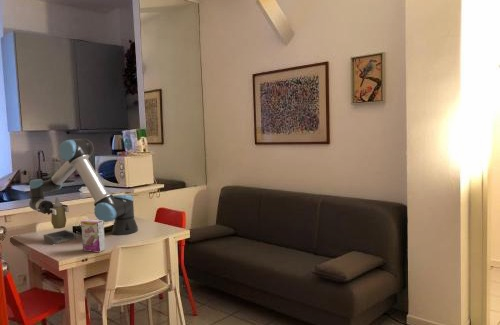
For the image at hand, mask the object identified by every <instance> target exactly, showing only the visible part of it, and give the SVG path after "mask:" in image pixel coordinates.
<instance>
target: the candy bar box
mask: <svg viewBox="0 0 500 325" xmlns="http://www.w3.org/2000/svg"><path fill="white" fill-rule="evenodd" d="M104 223H105V222H103V220H99V219H84V220H81V221H80V226H81V228H80V229H81V238H82V239H81V240H82V241H81V242H82V251H83V250H91V251H102V250H104V251H105V249H106V240H105V239H106V237H105V225H104ZM102 252H103V251H102Z"/></svg>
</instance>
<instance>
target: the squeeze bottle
mask: <svg viewBox="0 0 500 325" xmlns="http://www.w3.org/2000/svg"><path fill="white" fill-rule="evenodd" d="M62 204H63V202H60V199H59V197H58V196H56V197H55V201H54V203H53V208H52V209H55V210H56V214H57V215H54V214H51V220H50V221H51V225H52V227H53V229H56V230H57V229H58V230H59V229H63V228H65V227H66V224H67V216H66V212H65V210H64V207H63V206H62Z"/></svg>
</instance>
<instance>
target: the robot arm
mask: <svg viewBox="0 0 500 325" xmlns="http://www.w3.org/2000/svg"><path fill="white" fill-rule="evenodd" d="M94 152H95V146H94V144H93V142H92V141H90V140H89V139H87V138H76V139H67V140H63V142H61V144H60V145H59V149H58V153H59V155H60V156H59V157H60V158H61V159H62V160H64V161H65V162H64V164H63V165H61V167H60V168H58V169H57V171H56V172H55V173H54V174H53V175H52V176H51V177H50V178H49V179H48V180H43V179H42V178H34V179H31V180H30V181H29V193H30V200H29V202H28V206H29V207H30V209H31V210H33V211H37V212H38V213H41V214H43V215H44V214H46V215H52V214H54V215H57V214H56V210H55V209H52V208H53V204H54V203H53V202H52V201H50V200H47V199H45V194H46V193H50V192H55V191H58V190H61V189H62V187H63V184H64V183H65V181H66V180H67V179H68V178H70V176H71V175H72V174H73V173H74V172H75V171H77V173H78V175H79V177H80V178H81V180H82V181H83V183H84V185H85V187H86V189H87V190H88V192H89V193H90V195H91V196H92V198H93V200H94V203H93V206H94V209H93V210H94V212H93V213H94V216H95V217H96V219H97V220H103V222H104V223H109V222H113V221H114V223H113V227H112V234H113V235H116V236H117V235H121V236H123V235H131V234H134V233H136V232H138V231H139V226H138V225H137V222H136V219H135V209H134V208H135V207H134V198H133V196H132V195H130V194H115V195H113V194H112V193H109V192H108V191H107V188H106V187H105V186H104V184H103V182H102V180H101V179H100V177H99V175H98V173H97V172H96V170H95V169H94V167H93V165H92V163H91V161H90V160H89V159H90V158H91V156H92V155H93V153H94ZM62 206H63V207H64V210H65V213H70V209H69V207H68V204H63V203H62Z"/></svg>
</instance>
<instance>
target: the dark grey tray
mask: <svg viewBox="0 0 500 325" xmlns="http://www.w3.org/2000/svg"><path fill="white" fill-rule="evenodd" d="M76 236H77V234H76V233H75V232H72V231H70V230H67V229H63V230H59V231H54V232H50V233H46V234H43V241H44V242H46V243H48V242H49V244H51V243H52V244H51V245H53V244H55V245H57V244H58V243H59V244H62V242H63V243H66V241H67V242H70V241H71V242H72V241H74V240H77V237H76Z"/></svg>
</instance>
